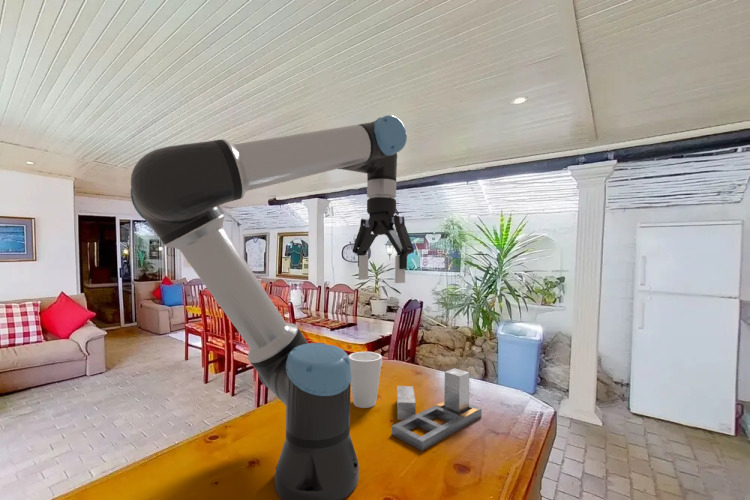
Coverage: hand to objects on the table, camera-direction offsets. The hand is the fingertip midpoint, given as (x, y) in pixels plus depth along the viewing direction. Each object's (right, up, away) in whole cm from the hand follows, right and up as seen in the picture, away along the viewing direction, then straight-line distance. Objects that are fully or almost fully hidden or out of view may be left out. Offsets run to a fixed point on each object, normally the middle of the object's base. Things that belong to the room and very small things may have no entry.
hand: (380, 281), depth 88 cm
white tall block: (+20, -35, +1) cm, 40 cm away
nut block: (+7, -35, +4) cm, 36 cm away
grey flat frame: (+14, -35, -4) cm, 38 cm away
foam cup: (-4, -35, +8) cm, 36 cm away
